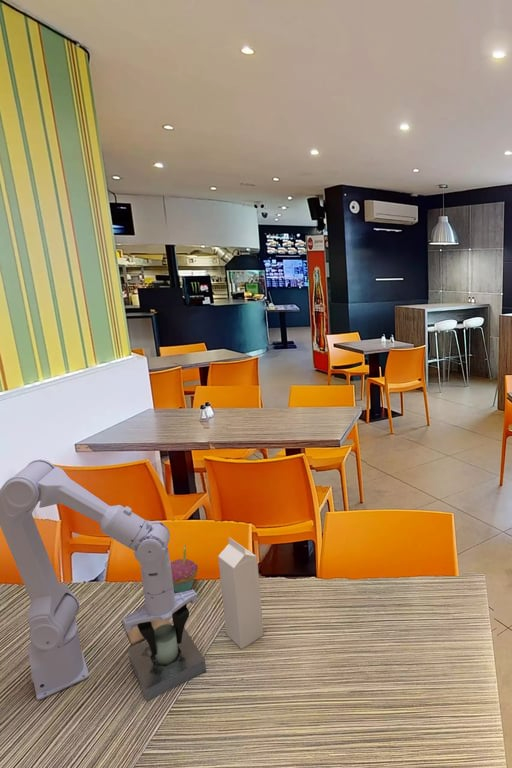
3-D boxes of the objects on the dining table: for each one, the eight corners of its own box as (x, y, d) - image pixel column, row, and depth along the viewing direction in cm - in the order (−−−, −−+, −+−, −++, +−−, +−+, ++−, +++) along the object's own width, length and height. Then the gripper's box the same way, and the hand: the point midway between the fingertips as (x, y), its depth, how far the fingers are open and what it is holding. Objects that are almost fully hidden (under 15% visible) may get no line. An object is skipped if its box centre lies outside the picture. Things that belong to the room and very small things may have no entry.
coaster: (132, 645, 97) (131, 643, 97) (121, 621, 104) (121, 619, 104) (171, 628, 101) (171, 625, 101) (158, 606, 109) (158, 604, 109)
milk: (241, 649, 93) (231, 554, 89) (225, 634, 98) (215, 542, 94) (264, 635, 97) (256, 542, 93) (248, 620, 102) (239, 531, 97)
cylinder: (160, 673, 88) (156, 644, 86) (153, 658, 92) (149, 630, 90) (182, 662, 90) (179, 634, 89) (174, 648, 94) (171, 621, 93)
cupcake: (202, 577, 119) (197, 536, 117) (194, 598, 111) (190, 554, 109) (171, 577, 120) (166, 536, 118) (161, 598, 112) (155, 554, 110)
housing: (147, 701, 83) (145, 689, 82) (129, 659, 93) (128, 649, 93) (206, 670, 89) (205, 659, 88) (183, 634, 99) (182, 624, 98)
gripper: (126, 611, 81) (135, 676, 83) (200, 582, 88) (206, 642, 90) (117, 591, 87) (125, 652, 89) (186, 565, 94) (193, 622, 96)
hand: (165, 646), depth 90 cm, fingers closed on cylinder, 5 cm apart
